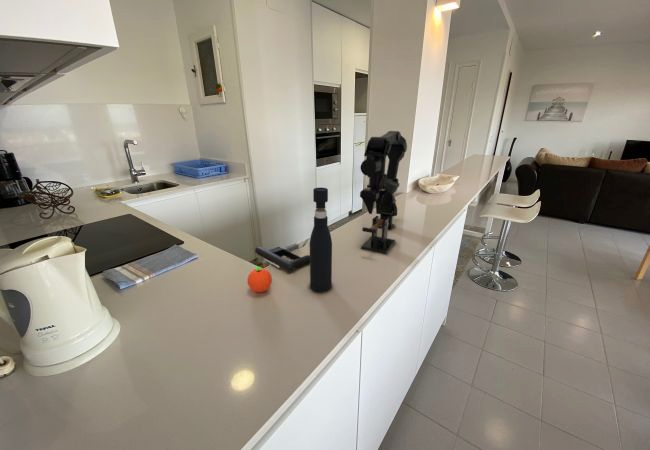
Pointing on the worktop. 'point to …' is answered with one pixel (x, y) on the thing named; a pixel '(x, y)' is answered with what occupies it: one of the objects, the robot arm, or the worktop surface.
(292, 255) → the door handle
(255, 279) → the clementine
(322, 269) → the black bottle
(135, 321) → the worktop surface
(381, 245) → the bracket
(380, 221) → the lever
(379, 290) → the worktop surface
